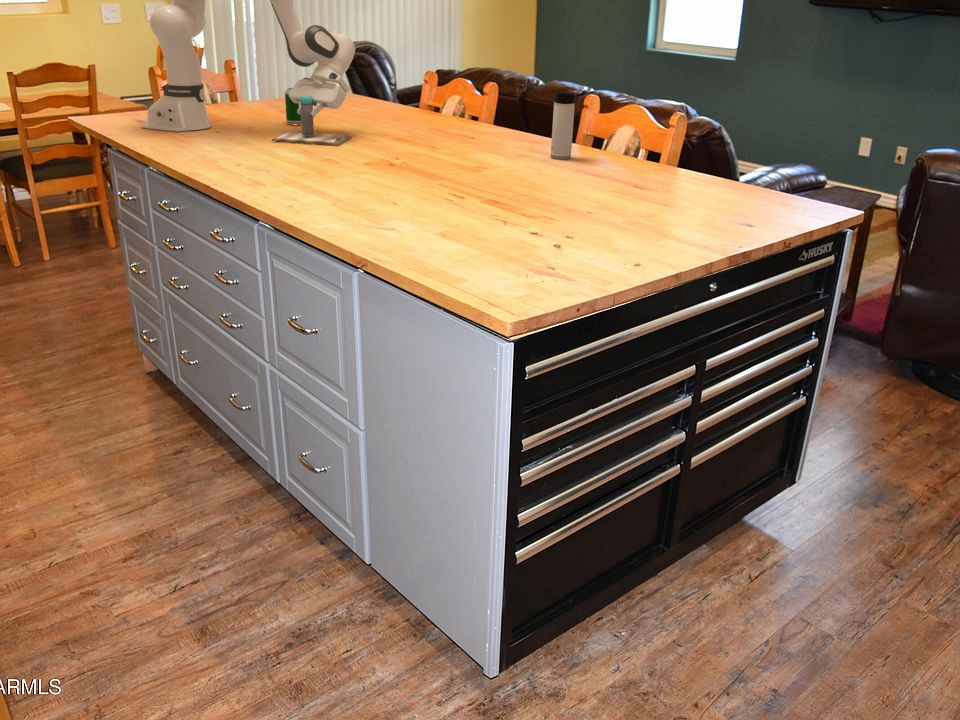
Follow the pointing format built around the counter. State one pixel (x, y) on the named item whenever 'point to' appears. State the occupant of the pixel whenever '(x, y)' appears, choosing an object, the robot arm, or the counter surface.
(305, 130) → the marker
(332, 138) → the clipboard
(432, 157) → the counter surface
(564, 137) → the travel mug
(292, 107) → the soda can
